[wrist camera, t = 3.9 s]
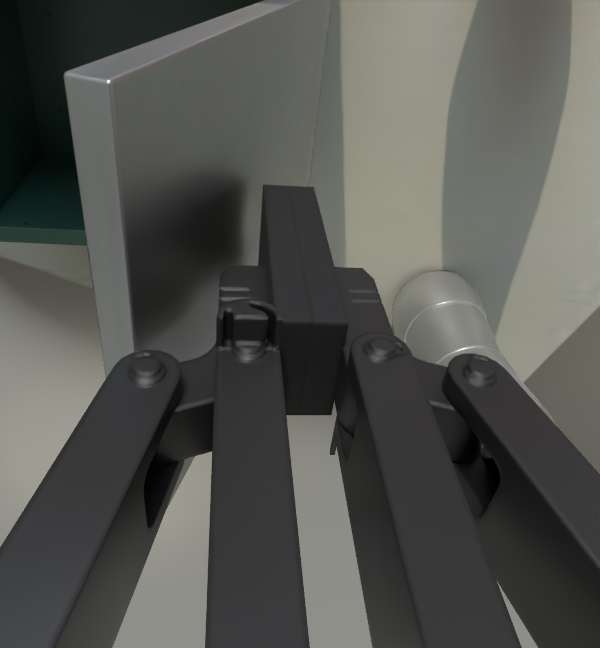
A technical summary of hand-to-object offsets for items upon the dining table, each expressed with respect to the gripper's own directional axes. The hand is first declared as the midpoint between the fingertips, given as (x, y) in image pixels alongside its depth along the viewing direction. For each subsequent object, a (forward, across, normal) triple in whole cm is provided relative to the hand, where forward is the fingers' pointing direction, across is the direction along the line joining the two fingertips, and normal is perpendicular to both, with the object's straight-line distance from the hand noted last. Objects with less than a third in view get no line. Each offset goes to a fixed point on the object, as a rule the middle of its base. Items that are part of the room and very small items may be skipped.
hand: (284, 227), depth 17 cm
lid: (+1, -2, 0) cm, 2 cm away
